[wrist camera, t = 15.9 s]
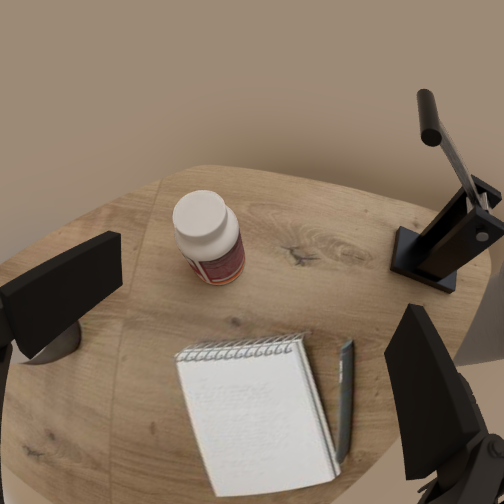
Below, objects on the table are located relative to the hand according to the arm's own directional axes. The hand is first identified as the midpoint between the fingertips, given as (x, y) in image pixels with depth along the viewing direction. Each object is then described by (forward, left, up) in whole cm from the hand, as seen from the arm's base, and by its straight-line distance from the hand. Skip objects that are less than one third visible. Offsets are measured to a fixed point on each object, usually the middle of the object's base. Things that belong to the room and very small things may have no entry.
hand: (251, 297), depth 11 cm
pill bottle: (+8, -7, -19) cm, 22 cm away
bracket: (-17, -16, -19) cm, 30 cm away
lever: (-12, -16, -4) cm, 20 cm away
